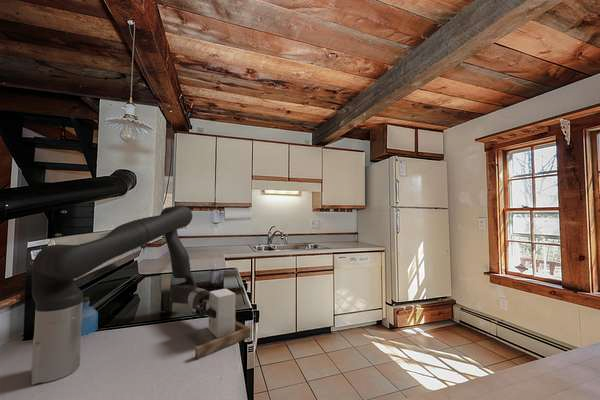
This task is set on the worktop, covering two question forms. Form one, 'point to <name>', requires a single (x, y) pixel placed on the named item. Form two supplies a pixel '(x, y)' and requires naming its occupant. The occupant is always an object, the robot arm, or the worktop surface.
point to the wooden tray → (217, 340)
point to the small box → (222, 312)
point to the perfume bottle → (88, 318)
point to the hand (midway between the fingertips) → (225, 311)
